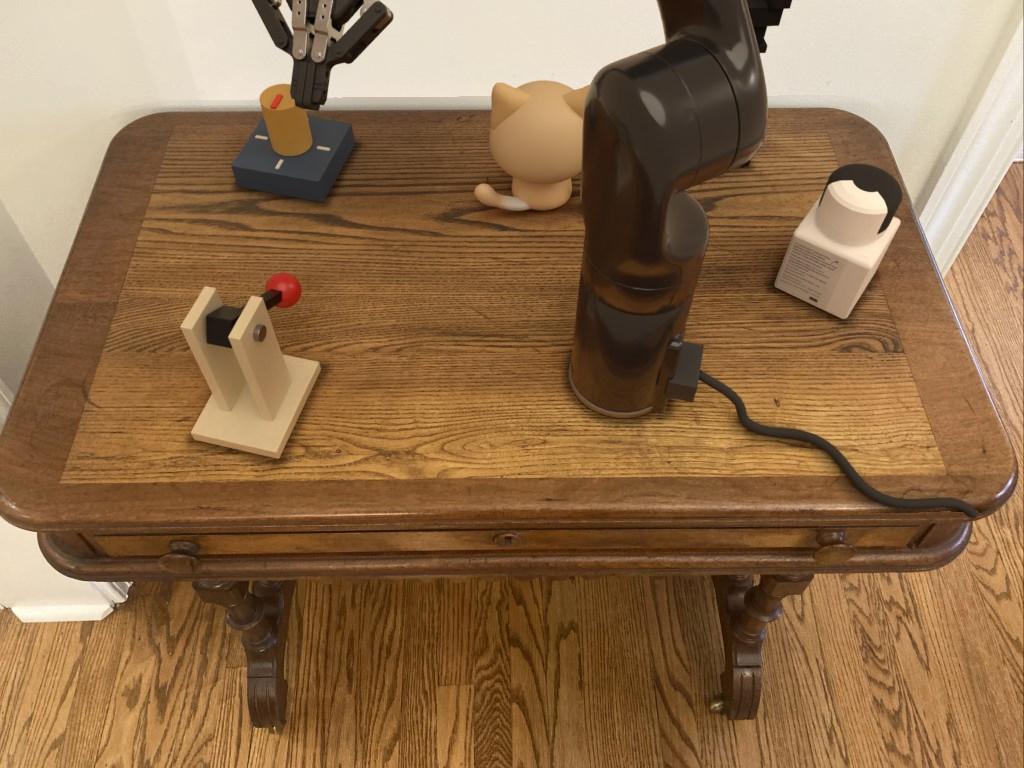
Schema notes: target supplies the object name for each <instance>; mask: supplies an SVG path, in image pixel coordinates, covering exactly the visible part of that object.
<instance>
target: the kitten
mask: <svg viewBox="0 0 1024 768" xmlns="http://www.w3.org/2000/svg"><path fill="white" fill-rule="evenodd" d="M589 86H590V84H587V85H585V86H583V87H580V88H576V89H574V88H572V87H571V86H569V85H567V84H564V83H561V82H558V81H554V80H549V79H548V80H546V79H543V80H542V79H541V80H534V81H530V82H525V83H523V84H521V85H519V86H517V87H513V86H511V85H509V84H507V83H505V82H500V81H499V82H496V83H495V84H494V85H493V87H492V90H491V97H490V99H491V110H490V113H491V114H490V130H489V137H488V139H489V141H488V143H489V150H490V154H491V156H492V158H493V161H494V162H495V163H496V164H497V165H498V166H499V167H500V168H501V169H502V170H503V171H504V172H505V173H506V174H508V175H509V176H511V177H512V179H511V194H512V195H502V194H499V193H497V192H496V190H495V189H494V188H493V187H492V186H491V185H490V184H488V183H480V184H478V185H477V186H476V187H475V189H474V196H475V198H476V199H477V201H479V202H480V203H482V204H483V205H485V206H487V207H492V208H499V209H502V210H505V211H511V212H523V211H527V210H534V211H551V210H554V209H557V208H559V207H562V206H564V204H566V203H567V202H568V201H569V200H570V198H571V195H572V192H573V184H572V178H574V177H576V176H577V175H578V174H581V165H582V126H583V112H584V105H585V99H586V95H587V92H588V89H589Z"/></svg>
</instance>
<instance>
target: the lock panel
mask: <svg viewBox="0 0 1024 768" xmlns="http://www.w3.org/2000/svg"><path fill="white" fill-rule="evenodd" d="M307 117H308V122H309V126H310V131H311V135H312V140H313V143H312V146H311V147H310V149H309V150H308V151H306V152H305V153H303V154H300V155H297V156H283V155H280V154H278V153H276V152H275V151H274V150H273V148H272V145H271V141H270V137H269V134H268V130H267V126H266V123H265V119H264V115H263V116H262V118H261V119H260V121H259V122H258V124H257V125H256V127H255V128H254V130H253V131H252V133H251V134H250V135H249V138H248V139H247V140H246V142H245V144H244V145H243V146H242V148H241V150H240V151H239V152H238V155H237V156H236V157H235V159H234V160H233V162H232V164H231V165H230V167H231V170H232V173H233V176H234V179H235V183H236V185H237V187H238V188H243V189H246V190H247V189H248V190H254V191H259V192H264V193H270V194H275V195H280V196H285V197H291V198H296V199H302V200H307V201H313V202H318V203H325V200H326V199H327V197H328V195H329V194H330V191H331V189H332V188H333V186H334V184H335V182H336V180H337V178H338V177H339V176H340V173H341V171H342V169H343V168H344V166H345V164H346V162H347V160H348V158H349V157H350V155H351V154H352V151H353V150H354V147H355V146H356V141H355V136H354V129H353V123H352V122H347V121H341V120H336V119H329V118H324V117H318V116H312V115H307Z"/></svg>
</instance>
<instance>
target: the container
mask: <svg viewBox="0 0 1024 768" xmlns="http://www.w3.org/2000/svg"><path fill="white" fill-rule="evenodd" d="M902 201H903V190H902V187H901V186H900V183H899V182H898V181H897V179H896V178H895V177H894V176H893V175H892V174H890V173H889V172H888V171H886V170H884V169H882V168H880V167H878V166H875V165H872V164H868V163H850V164H846V165H843V166H840V167H838V168H836V169H835V170H834V171H833V172H831V174H830V175H829V177H828V179H827V181H826V183H825V186H824V189H823V192H822V193H821V194H820V196H819V197H818V199H816V201H815V203H814V204H813V205H812V207H811V208H810V210H809V211H808V212H807V214H806V215H805V217H804V218H803V219H802V221H801V222H800V223H799V225H798V226H797V227H796V229H795V230H794V232H793V234H792V236H791V239H790V241H789V244H788V246H787V249H786V252H785V254H784V257H783V260H782V263H781V265H780V266H779V270H778V272H777V276H776V278H775V280H774V287H775V288H776V289H778V290H780V291H783V292H785V293H787V294H789V295H791V296H793V297H795V298H797V299H800V300H801V301H803V302H805V303H808V304H810V305H812V306H814V307H816V308H818V309H820V310H822V311H825V312H826V313H828V314H831V315H833V316H835V317H837V318H839V319H841V320H846V319H847V318H848V317H849V315H850V314H851V312H852V311H853V309H854V307H856V304H857V302H858V301H859V299H860V298H861V296H862V295H863V294H864V292H865V290H866V289H867V287H868V285H869V283H870V282H871V280H872V279H873V277H874V276H875V274H876V272H877V270H878V268H879V266H880V264H881V262H882V261H883V259H884V257H885V254H886V252H887V251H888V249H889V247H890V245H891V243H892V241H893V239H894V237H895V235H896V233H897V231H898V229H899V227H900V226H901V220H900V218H898V217H896V216H895V215H896V213H897V211H898V209H899V207H900V205H901V203H902Z"/></svg>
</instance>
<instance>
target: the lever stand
mask: <svg viewBox="0 0 1024 768" xmlns="http://www.w3.org/2000/svg"><path fill="white" fill-rule="evenodd" d="M223 305H224V304H223V302H222V299H221V296H220V294H219V292H218V290H217V288H216V287H212V286H207V285H205V286H204V287H203V289H202V290H201V292H200V293H199V295H198V297H197V299H196V300H195V301H194V303H193V305H192V307H191V308H190V310H189V311H188V313H187V315H186V316H185V318H184V319H183V321H182V323H181V324H180V325H179V327H180V330H181V332H182V334H183V336H184V339H185V340H186V342H187V345H188V347H189V348H190V350H191V351H190V352H191V353H192V355H193V357H194V359H195V361H196V363H197V365H198V367H199V369H200V371H201V373H202V375H203V377H204V379H205V382H206V384H207V385H208V387H209V390H210V391H211V395H210V397H209V398H208V400H207V402H206V403H205V405H204V407H203V409H202V411H201V413H200V414H199V416H198V418H197V420H196V421H195V424H194V425H193V427H192V429H191V431H190V434H191V437H192V438H193V440H195V441H197V442H203V443H207V444H212V445H215V446H221V447H224V448H229V449H233V450H238V451H243V452H245V453H250V454H255V455H258V456H259V455H260V456H264V457H267V458H272V459H277V460H279V459H280V458H281V456H282V453H283V452H284V450H285V447H286V445H287V443H288V441H289V438H290V436H291V434H292V432H293V431H294V429H295V427H296V424H297V422H298V420H299V418H300V415H301V414H302V411H303V409H304V408H305V407H304V406H305V405H306V403H307V400H308V398H309V396H310V395H311V392H312V389H313V388H314V386H315V384H316V382H317V380H318V377H319V375H320V373H321V372H322V367H321V364H320V361H317V360H312V359H307V358H302V357H298V356H294V355H288V354H284V353H283V352H282V349H281V347H280V344H279V341H278V338H277V335H276V332H275V329H274V326H273V323H272V320H271V317H270V315H269V312H268V311H267V309H266V306H265V303H264V300H263V298H262V297H259V296H256V295H251V296H250V297H249V299H248V301H247V303H246V304H245V305H246V306H245V308H244V310H243V311H242V313H241V315H240V317H239V319H238V320H237V322H236V324H235V326H234V327H233V329H232V331H231V333H230V334H229V336H228V338H229V340H230V343H231V345H232V349H231V348H226V347H222V346H217V345H212V344H208V343H207V337H206V315H208V314H209V313H211V312H213V311H215V310H216V309H218V308H220V307H221V306H223Z"/></svg>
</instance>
